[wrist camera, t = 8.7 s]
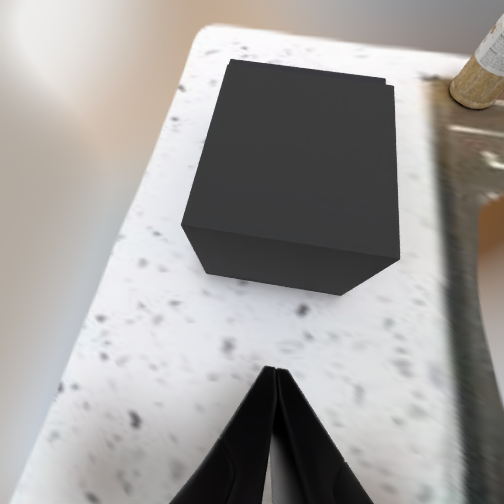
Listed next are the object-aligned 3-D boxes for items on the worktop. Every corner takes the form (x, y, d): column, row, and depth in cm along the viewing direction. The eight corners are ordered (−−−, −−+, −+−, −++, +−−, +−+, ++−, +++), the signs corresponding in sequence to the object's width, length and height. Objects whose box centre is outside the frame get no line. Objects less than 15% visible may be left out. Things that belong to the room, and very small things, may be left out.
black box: (341, 295, 19) (400, 259, 12) (206, 273, 20) (180, 224, 12) (347, 171, 23) (394, 85, 16) (233, 155, 24) (227, 64, 16)
